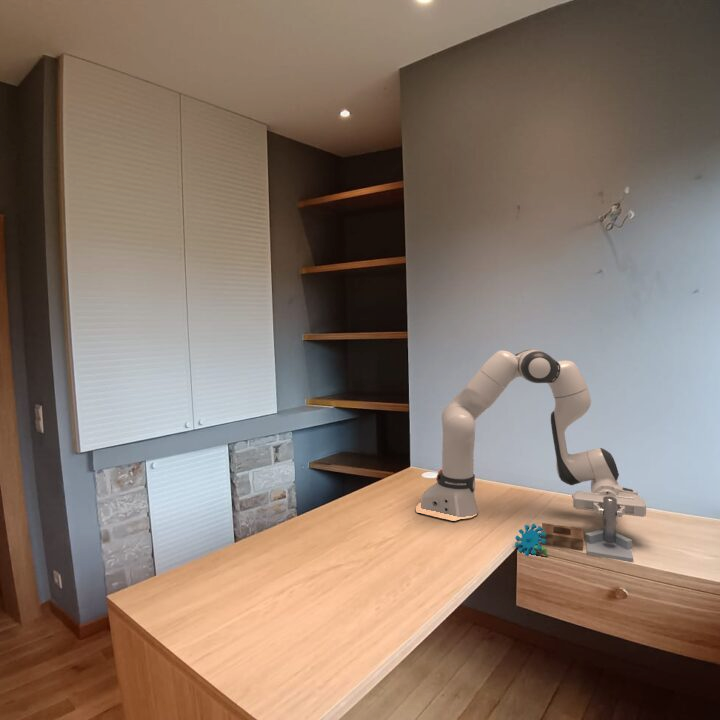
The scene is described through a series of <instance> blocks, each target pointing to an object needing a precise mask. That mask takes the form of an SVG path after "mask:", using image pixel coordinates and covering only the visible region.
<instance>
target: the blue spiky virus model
mask: <svg viewBox="0 0 720 720" xmlns="http://www.w3.org/2000/svg"><path fill="white" fill-rule="evenodd" d="M524 529H525V531H524V530H523V529H522V528H521V529H519V530H518V533H519V534H520V535H521V538H520V536H519V535H517V534H516V535H515V538H514V539H515V543H514V546H515V547H516V548H517V550H518V552H519V554H522V553H523V554H524V555H525V556H526V557H528V556H530V554H531V555H532V556H533V555H534V556H535V555H537V552H539V553H540V554H542V555H545V556H546V557H549V554H548V553H547V551H548V550H547V548H546V547H545V546H542V545H544V544H545V543H546V540H545V539H541V535H542V536H543V537H545V536H546V533H545V532H544V531H543V532H541V531H542V530H543V529H542V525H538V526H537V525H536V523H532V524H531V526H530V525H529V524H525V525H524ZM518 541H520V543H519V542H518ZM541 542H542V543H543V544H541Z"/></svg>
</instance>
